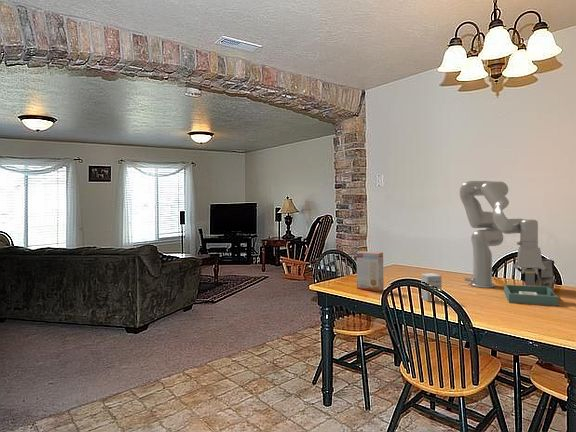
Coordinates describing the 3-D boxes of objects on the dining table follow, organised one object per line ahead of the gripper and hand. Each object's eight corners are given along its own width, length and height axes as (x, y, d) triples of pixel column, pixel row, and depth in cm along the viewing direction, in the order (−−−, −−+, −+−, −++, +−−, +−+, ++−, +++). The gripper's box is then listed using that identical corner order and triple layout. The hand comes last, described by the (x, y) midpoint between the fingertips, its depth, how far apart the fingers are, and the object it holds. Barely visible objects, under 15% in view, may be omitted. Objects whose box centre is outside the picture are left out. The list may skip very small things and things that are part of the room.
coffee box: (554, 291, 215) (554, 260, 214) (540, 291, 216) (541, 260, 215) (547, 287, 224) (547, 258, 223) (534, 287, 225) (534, 258, 224)
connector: (525, 285, 201) (525, 267, 201) (524, 283, 205) (523, 266, 204) (534, 285, 199) (534, 268, 199) (533, 284, 203) (533, 266, 203)
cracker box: (384, 290, 225) (383, 252, 224) (378, 292, 221) (378, 253, 220) (362, 286, 235) (361, 250, 234) (356, 288, 230) (356, 251, 230)
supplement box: (421, 298, 206) (420, 273, 205) (435, 297, 206) (435, 272, 206) (427, 302, 198) (427, 276, 198) (442, 301, 199) (441, 275, 198)
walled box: (508, 302, 195) (508, 293, 194) (503, 292, 215) (504, 284, 215) (558, 305, 187) (558, 297, 187) (548, 295, 207) (548, 287, 207)
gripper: (510, 245, 201) (511, 282, 202) (550, 245, 195) (550, 283, 195) (509, 243, 208) (509, 279, 209) (547, 244, 202) (547, 281, 202)
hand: (529, 281), depth 202 cm, fingers closed on connector, 4 cm apart
